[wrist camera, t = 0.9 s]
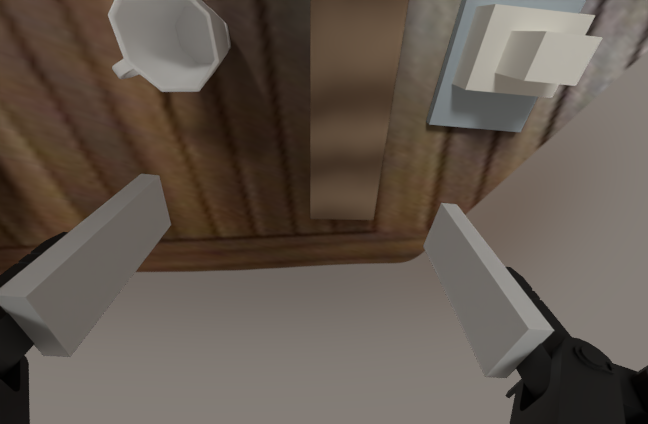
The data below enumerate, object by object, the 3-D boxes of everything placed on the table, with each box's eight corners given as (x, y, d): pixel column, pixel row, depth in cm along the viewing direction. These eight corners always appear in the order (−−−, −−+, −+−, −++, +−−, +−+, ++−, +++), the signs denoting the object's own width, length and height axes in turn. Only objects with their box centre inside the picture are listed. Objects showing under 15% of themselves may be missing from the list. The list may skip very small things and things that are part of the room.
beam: (312, -112, 20) (310, -153, 15) (407, -108, 20) (432, -146, 16) (311, 193, 35) (310, 218, 30) (366, 194, 35) (373, 219, 30)
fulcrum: (478, -58, 21) (549, -95, 15) (597, -43, 22) (716, -72, 15) (426, 121, 29) (457, 149, 23) (514, 129, 30) (570, 158, 23)
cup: (260, 59, 26) (239, 70, 19) (175, 102, 28) (130, 126, 21) (216, -32, 22) (171, -56, 15) (122, 26, 24) (47, 26, 18)
